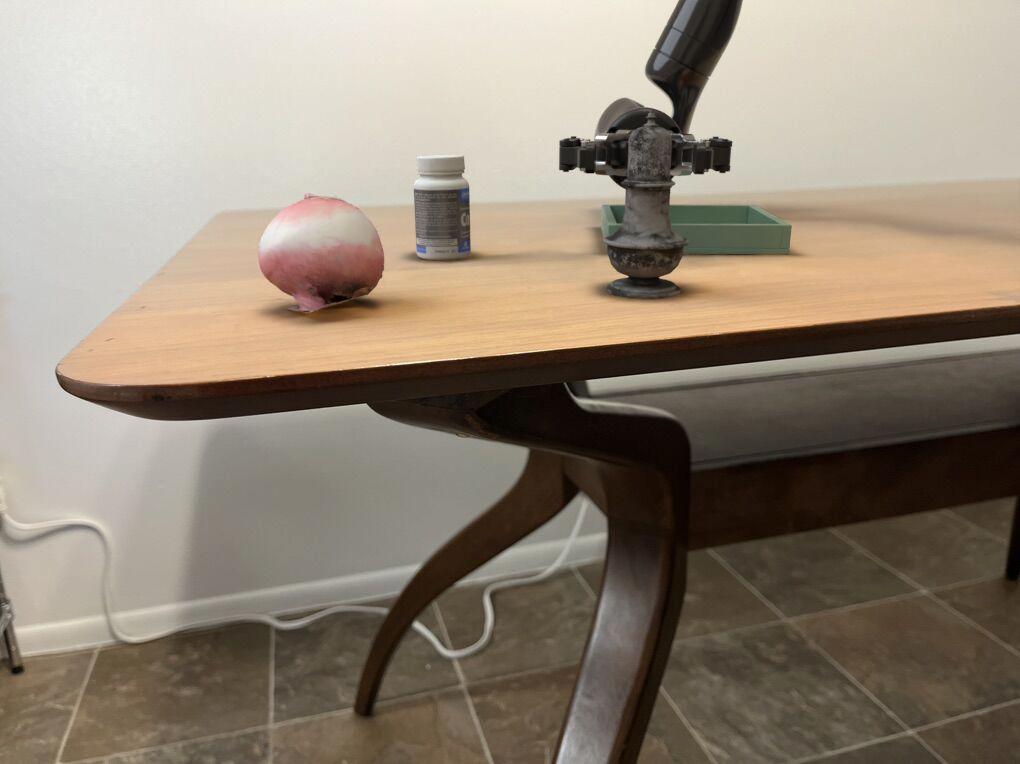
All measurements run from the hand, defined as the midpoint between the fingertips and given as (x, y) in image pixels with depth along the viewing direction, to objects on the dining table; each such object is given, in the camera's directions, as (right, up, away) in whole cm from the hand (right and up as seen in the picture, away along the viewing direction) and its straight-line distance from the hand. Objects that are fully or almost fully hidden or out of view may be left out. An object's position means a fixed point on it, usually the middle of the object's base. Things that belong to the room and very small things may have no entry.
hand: (645, 159), depth 63 cm
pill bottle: (-16, -7, +7) cm, 19 cm away
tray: (+6, -4, +14) cm, 16 cm away
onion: (-23, -13, -10) cm, 28 cm away
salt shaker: (-1, -11, -6) cm, 13 cm away
